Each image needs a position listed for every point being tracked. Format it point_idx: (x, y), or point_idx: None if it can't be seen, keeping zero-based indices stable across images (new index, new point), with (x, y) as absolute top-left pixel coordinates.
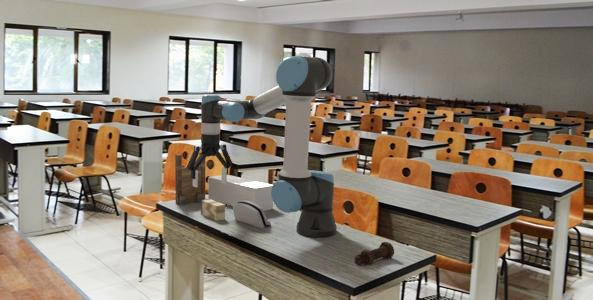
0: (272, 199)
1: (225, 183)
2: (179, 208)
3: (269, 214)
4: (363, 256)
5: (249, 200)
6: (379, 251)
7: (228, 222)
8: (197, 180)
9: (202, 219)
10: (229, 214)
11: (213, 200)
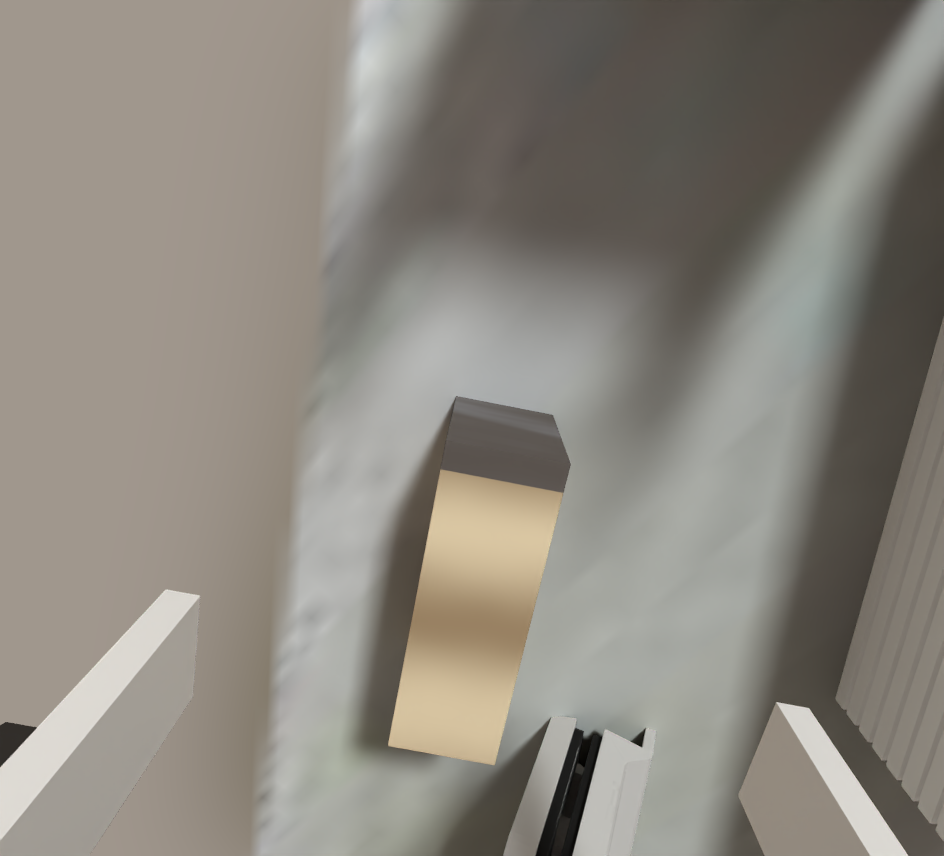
0: None
1: (747, 800)
2: (447, 11)
3: None
4: None
5: (928, 703)
6: None
7: None
8: (120, 798)
9: (345, 540)
10: (639, 587)
11: (542, 559)
